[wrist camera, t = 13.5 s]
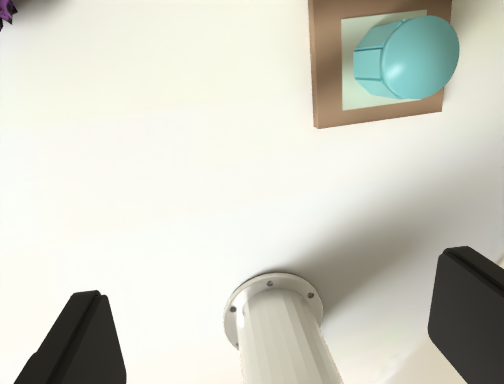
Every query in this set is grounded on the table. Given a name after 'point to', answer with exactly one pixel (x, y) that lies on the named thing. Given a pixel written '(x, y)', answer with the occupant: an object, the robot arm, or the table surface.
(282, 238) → the table surface
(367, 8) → the post board
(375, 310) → the table surface
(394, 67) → the teal cap
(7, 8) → the decorative ornament
